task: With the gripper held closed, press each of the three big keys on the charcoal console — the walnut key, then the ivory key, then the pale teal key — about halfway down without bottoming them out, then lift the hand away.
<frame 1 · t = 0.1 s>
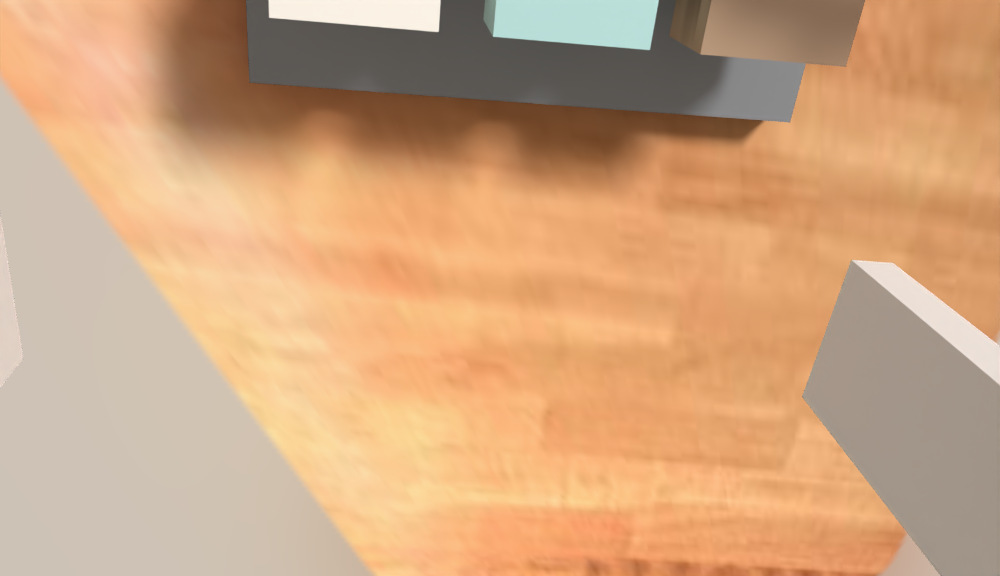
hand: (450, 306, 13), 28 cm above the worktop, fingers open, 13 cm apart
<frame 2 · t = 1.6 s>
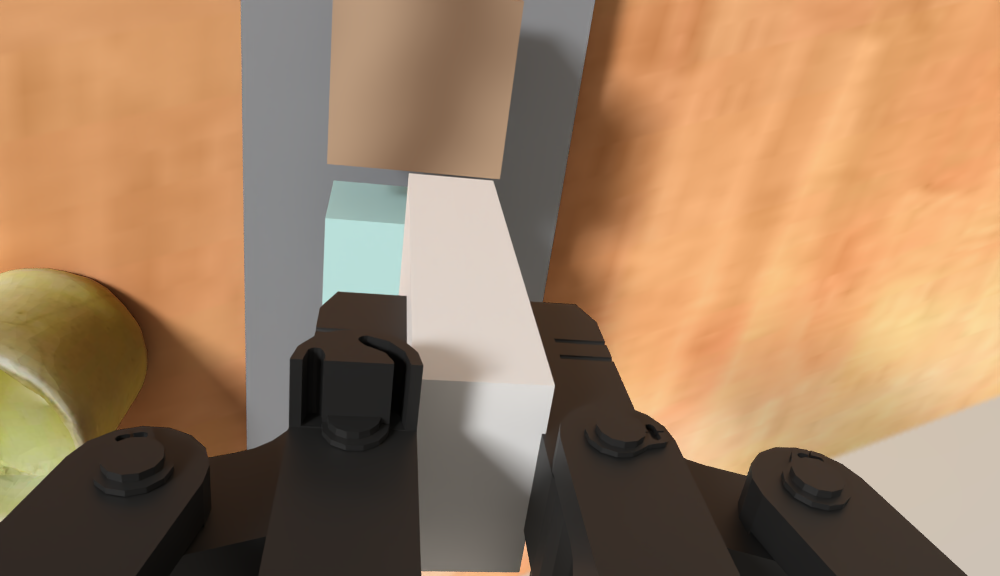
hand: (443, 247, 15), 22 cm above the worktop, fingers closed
mug: (20, 331, 39), on the worktop
walnut key: (421, 72, 28), point 7 cm above the worktop, slide at 0.0 cm
console: (403, 210, 38), on the worktop
teal key: (403, 275, 32), point 7 cm above the worktop, slide at 0.0 cm
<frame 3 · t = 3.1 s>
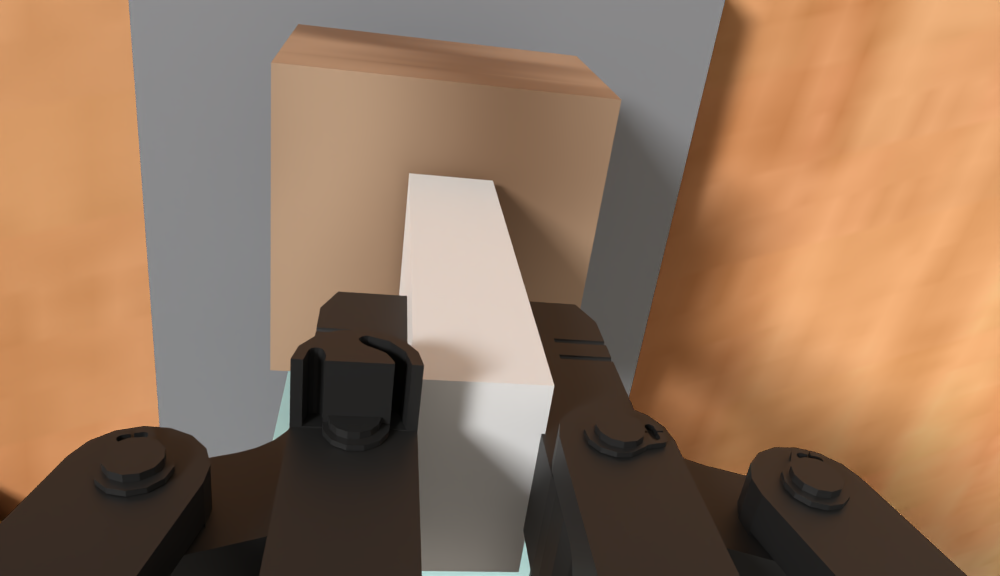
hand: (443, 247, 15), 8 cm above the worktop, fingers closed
walnut key: (432, 204, 17), point 6 cm above the worktop, slide at 0.8 cm, touching gripper
console: (402, 366, 26), on the worktop
teal key: (403, 520, 19), point 7 cm above the worktop, slide at 0.0 cm
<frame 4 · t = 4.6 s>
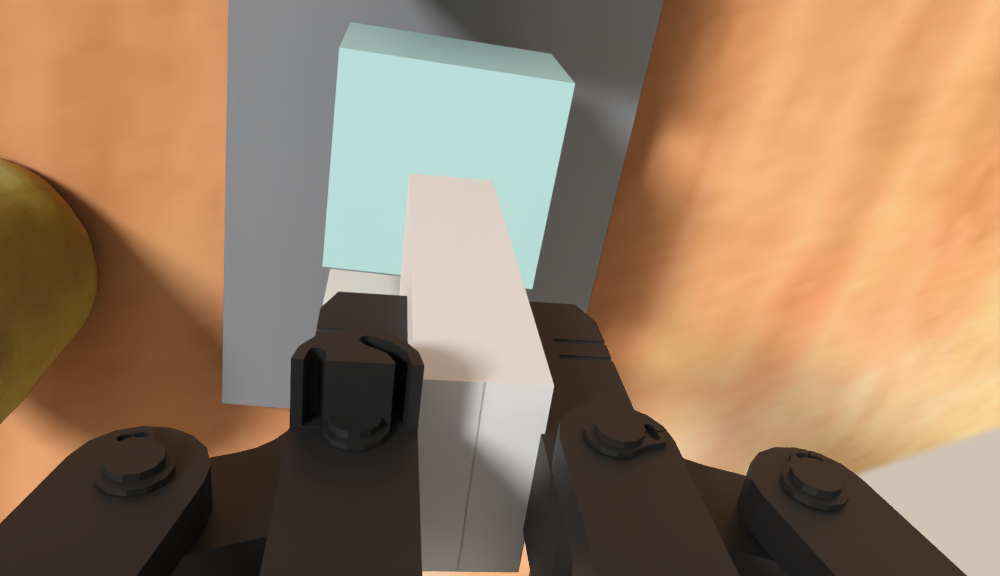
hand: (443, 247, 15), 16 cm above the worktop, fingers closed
ivory key: (409, 384, 26), point 7 cm above the worktop, slide at 0.0 cm
console: (435, 97, 29), on the worktop
teal key: (441, 155, 23), point 7 cm above the worktop, slide at 0.0 cm
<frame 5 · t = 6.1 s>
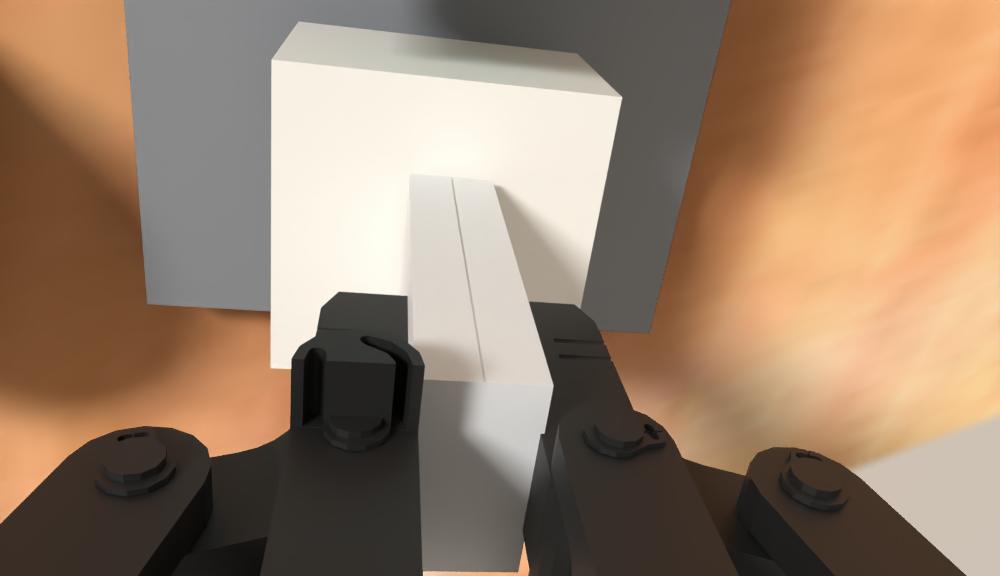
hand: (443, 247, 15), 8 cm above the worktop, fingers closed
ivory key: (432, 201, 17), point 6 cm above the worktop, slide at 1.1 cm, touching gripper
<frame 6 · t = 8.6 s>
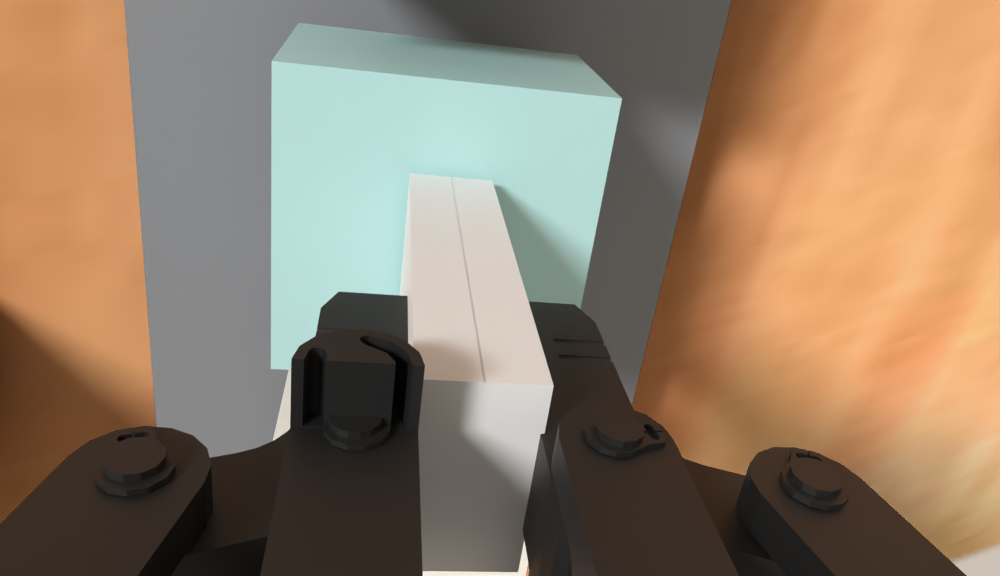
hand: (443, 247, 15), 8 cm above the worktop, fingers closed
ivory key: (403, 493, 20), point 6 cm above the worktop, slide at 1.3 cm
console: (424, 126, 22), on the worktop
teal key: (432, 203, 17), point 6 cm above the worktop, slide at 1.1 cm, touching gripper
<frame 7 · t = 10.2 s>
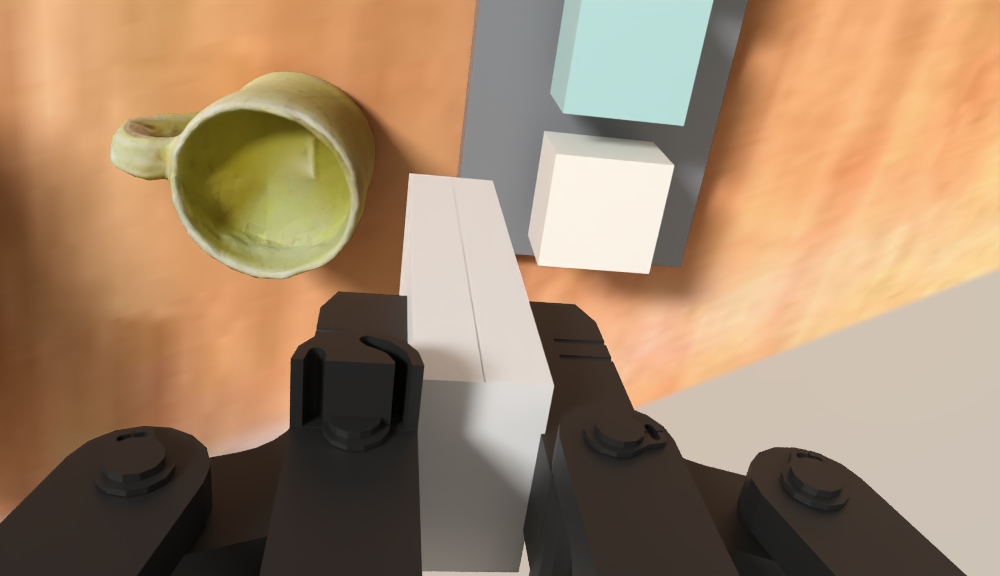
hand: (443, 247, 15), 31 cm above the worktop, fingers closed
mug: (265, 136, 45), on the worktop
ivory key: (596, 202, 42), point 6 cm above the worktop, slide at 1.3 cm
console: (601, 28, 43), on the worktop
teal key: (626, 47, 38), point 6 cm above the worktop, slide at 1.3 cm
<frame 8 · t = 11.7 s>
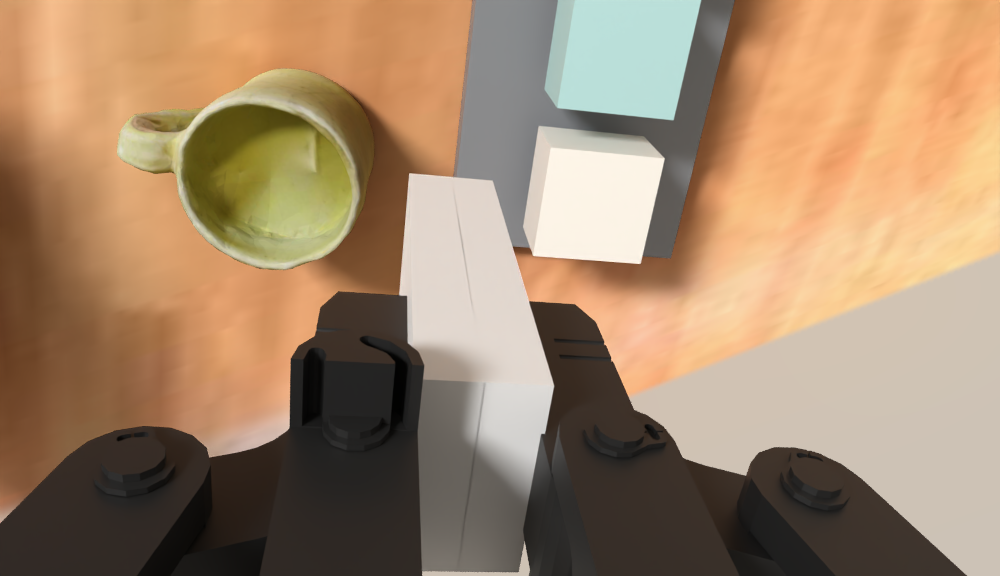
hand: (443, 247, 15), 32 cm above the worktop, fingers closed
mug: (266, 132, 46), on the worktop
ivory key: (589, 194, 43), point 6 cm above the worktop, slide at 1.3 cm
console: (593, 26, 45), on the worktop
teal key: (618, 45, 40), point 6 cm above the worktop, slide at 1.3 cm
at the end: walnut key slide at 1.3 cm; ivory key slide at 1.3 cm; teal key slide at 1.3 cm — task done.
